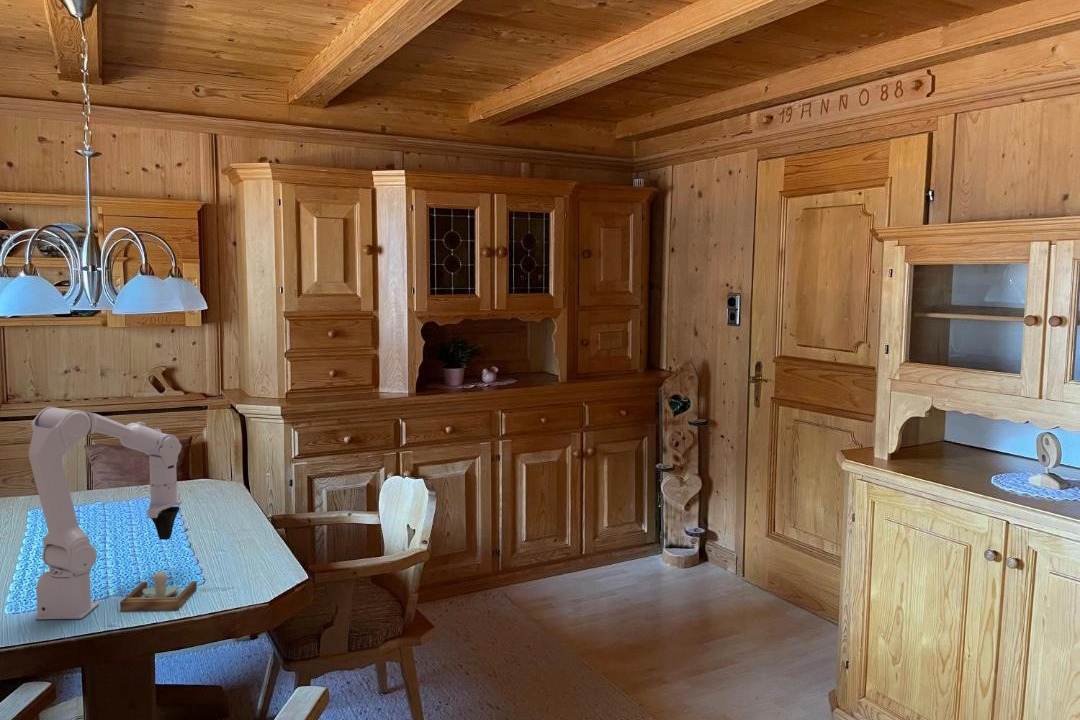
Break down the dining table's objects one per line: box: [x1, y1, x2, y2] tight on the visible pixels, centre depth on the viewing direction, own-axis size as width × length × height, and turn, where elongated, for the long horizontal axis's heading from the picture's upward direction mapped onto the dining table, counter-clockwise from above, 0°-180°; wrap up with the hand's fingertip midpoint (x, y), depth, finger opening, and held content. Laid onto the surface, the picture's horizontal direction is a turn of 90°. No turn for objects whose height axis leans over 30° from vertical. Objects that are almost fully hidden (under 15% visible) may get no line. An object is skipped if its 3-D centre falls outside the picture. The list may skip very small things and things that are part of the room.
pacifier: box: [143, 571, 179, 598], centre depth 178 cm, size 7×6×6 cm
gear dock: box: [119, 580, 198, 612], centre depth 176 cm, size 12×12×2 cm
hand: (165, 538), depth 189 cm, fingers closed
